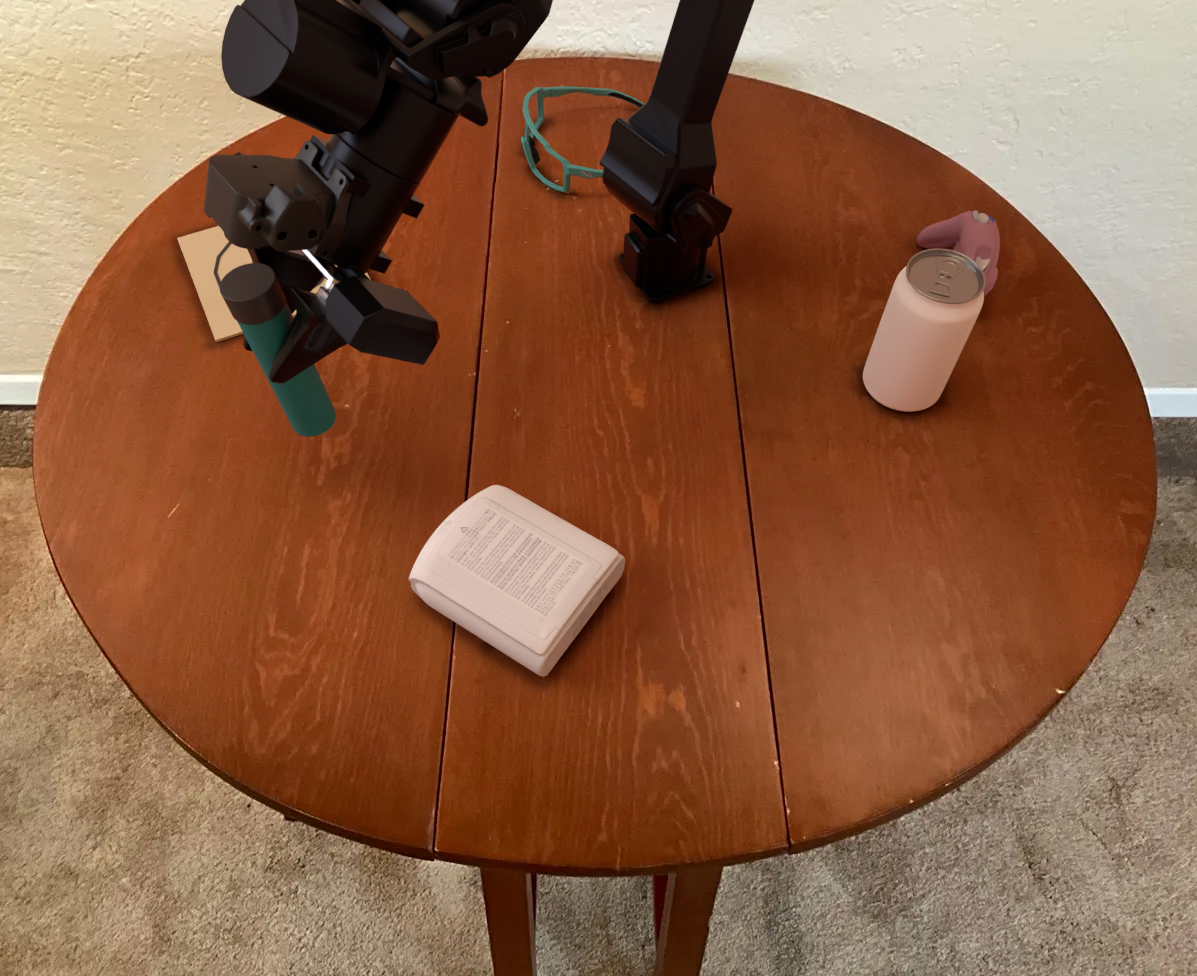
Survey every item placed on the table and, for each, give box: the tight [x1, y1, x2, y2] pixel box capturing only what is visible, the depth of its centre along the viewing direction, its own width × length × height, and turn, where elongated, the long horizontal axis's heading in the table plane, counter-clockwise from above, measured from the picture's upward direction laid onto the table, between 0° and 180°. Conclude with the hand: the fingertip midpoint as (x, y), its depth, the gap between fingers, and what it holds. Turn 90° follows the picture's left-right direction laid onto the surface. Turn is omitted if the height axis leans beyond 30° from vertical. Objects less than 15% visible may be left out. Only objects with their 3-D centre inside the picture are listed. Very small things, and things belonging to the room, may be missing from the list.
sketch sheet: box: [176, 225, 372, 343], centre depth 86 cm, size 14×14×1 cm
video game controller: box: [916, 209, 1001, 297], centre depth 84 cm, size 10×5×7 cm, turn 168°
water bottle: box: [220, 263, 337, 438], centre depth 63 cm, size 3×3×13 cm
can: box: [862, 248, 986, 413], centre depth 74 cm, size 6×6×12 cm
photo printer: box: [408, 484, 626, 677], centre depth 66 cm, size 10×4×12 cm
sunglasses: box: [520, 85, 645, 193], centre depth 94 cm, size 14×15×5 cm
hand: (262, 365), depth 63 cm, fingers closed on water bottle, 3 cm apart
